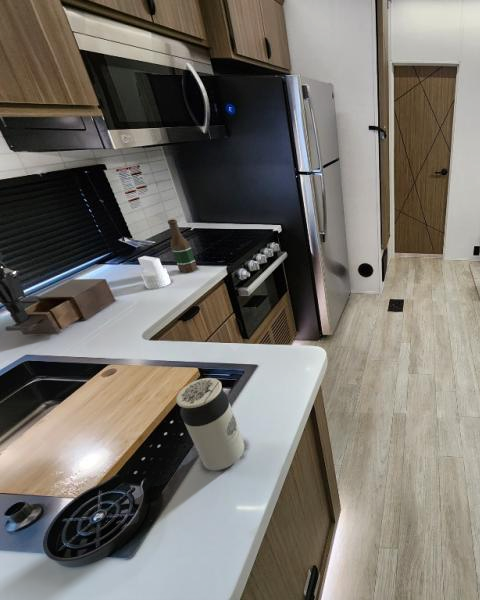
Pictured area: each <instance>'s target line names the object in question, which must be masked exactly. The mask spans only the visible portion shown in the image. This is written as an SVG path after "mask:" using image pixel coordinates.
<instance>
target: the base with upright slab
mask: <svg viewBox="0 0 480 600" xmlns="http://www.w3.org/2000/svg"><path fill="white" fill-rule="evenodd" d="M137 260H138V262H139V265H140V267H141V270H142V272H141V273H140V276H141V278H142V281H143V283H144V286H145V287H146V289H148V290H149V289H150V290H155V289H161V288H164V287H167V286H168V285H170V284H171V282H172V281H171V279H170V276H169V273H168V271H167V268H166V267H163V265H162V262H161V260H160V258H159V257H153V256H147V255H143V256H140V257H138V258H137Z"/></svg>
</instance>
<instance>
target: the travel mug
mask: <svg viewBox="0 0 480 600" xmlns="http://www.w3.org/2000/svg"><path fill="white" fill-rule="evenodd" d="M222 388H223V387H222V382H221V381H220V380H218V379H217V378H214V377H213V378H212V377H205V378H200V379H197V380H194V381H192V382H190V383H187V384H186V386H184V387H183V388H181V390H180V391H179V392H178V394H177V395H176V399H175V400H176V404H177V405H178V406H179V407H180V410H179V411H180V412H179V413H180V417H181V419H182V421H183V423H184V425H185V427H186V430H187V431H188V434H189V436H190V438H191V441H192V443H193V445H194V447H195V449H196V451H197V453H198V455H199V457H200V460H201V462H202V464H203V467H205V468H206V469H207V470H210V471H220V470H221V471H222V470H224V469H227V468H229V467H231V466H232V465H234V464H235V463H237V461H238V460H239V459H240V458H241V457H242V455H243V453H244V451H245V442H244V440H243V437H242V434H241V432H240V431H241V430H240V429H239V426H238V423H237V420H236V417H235V414H234V412H233V409H232V406H231V403H230V400H229V397H228V395H227V393H226V391H224V390H223V389H222Z"/></svg>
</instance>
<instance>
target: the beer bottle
mask: <svg viewBox="0 0 480 600" xmlns="http://www.w3.org/2000/svg"><path fill="white" fill-rule="evenodd" d="M167 224H168V225H169V230H170V234H171V241H170V248H171V251H172V254H173V256H174V259H175V263H176V264H177V267H178V269H179V273H181V274H189V273H192V272H195V271H197V270H198V266H197V262H196V259H195V257H194V253H193V250H192V247H191V245H190V243H189V241H188V240H187V239H186V237H184V236H183V234H182V233H181V230H180V227H179V225H178V221H177V220H176V219H169V220H167Z"/></svg>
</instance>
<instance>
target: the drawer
mask: <svg viewBox="0 0 480 600" xmlns="http://www.w3.org/2000/svg"><path fill="white" fill-rule="evenodd" d="M25 311H26V313H27V314H28V316H29V318H28V319H26V320H25V321H23V322H16V321H15V320H14V318H13V317H12V315H11V314H10V313H9V316H10V317H11V319H12V320H13V322H14V324H12V325H7V326H5V331H6V332H21V334H22V335H24V336H29V335H32V336H33V335H59V334H61V333H62V330H63V329H65V328H67V327H68V326H70V325H71V324H73V323H74V322H76V321H79V320H78V319H79V318H81V317H82V316H81V314H80V312H79V311H78V309H77V307H76V305H75V303H74V302H73V300H72V299H43V300H41V301H39V302H37V303H35V304H33V305H31V306H29V307H27V308H25Z"/></svg>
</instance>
